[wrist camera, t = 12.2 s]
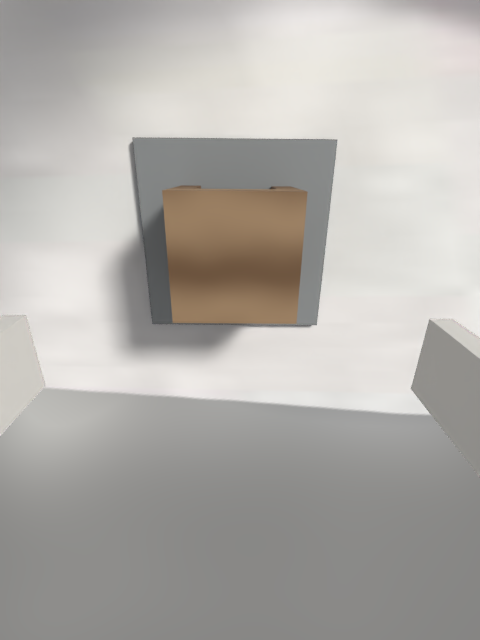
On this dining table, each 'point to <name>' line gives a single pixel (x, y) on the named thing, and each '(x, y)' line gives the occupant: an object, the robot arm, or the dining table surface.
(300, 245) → the wooden stool
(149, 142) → the mat
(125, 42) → the dining table surface
